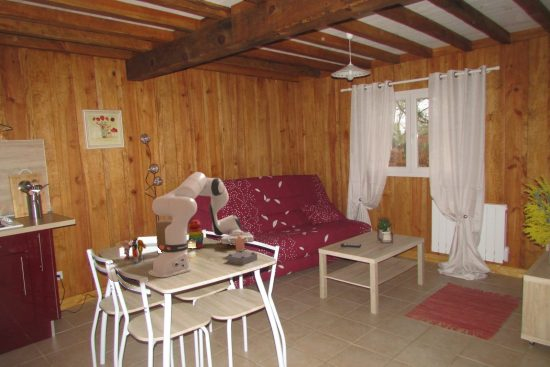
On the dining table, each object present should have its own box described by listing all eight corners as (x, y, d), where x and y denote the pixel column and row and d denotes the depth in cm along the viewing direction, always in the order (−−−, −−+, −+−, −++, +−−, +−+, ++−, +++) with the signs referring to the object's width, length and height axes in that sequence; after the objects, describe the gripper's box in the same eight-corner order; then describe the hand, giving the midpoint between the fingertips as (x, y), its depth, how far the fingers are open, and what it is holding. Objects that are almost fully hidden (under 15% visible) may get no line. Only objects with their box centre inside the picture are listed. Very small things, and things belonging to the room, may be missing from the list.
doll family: (121, 257, 235) (120, 236, 234) (137, 254, 242) (135, 233, 240) (135, 265, 219) (134, 242, 218) (152, 261, 226) (150, 239, 224)
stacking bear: (187, 245, 261) (186, 219, 259) (203, 244, 263) (202, 218, 262) (188, 249, 251) (186, 221, 249) (204, 248, 253) (203, 220, 251)
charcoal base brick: (243, 265, 214) (243, 257, 214) (227, 262, 221) (226, 254, 221) (257, 260, 224) (256, 252, 224) (241, 257, 231) (240, 249, 231)
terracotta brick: (244, 255, 234) (244, 237, 233) (236, 255, 234) (235, 237, 233) (244, 252, 239) (243, 235, 238) (235, 253, 239) (235, 235, 238)
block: (178, 249, 250) (176, 218, 248) (172, 254, 240) (171, 221, 239) (163, 249, 251) (161, 218, 249) (156, 254, 241) (155, 221, 240)
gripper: (220, 233, 256) (221, 238, 243) (251, 231, 260) (254, 236, 246) (220, 243, 257) (221, 248, 243) (252, 241, 260) (254, 246, 247)
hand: (238, 242), depth 245 cm, fingers open, 8 cm apart
